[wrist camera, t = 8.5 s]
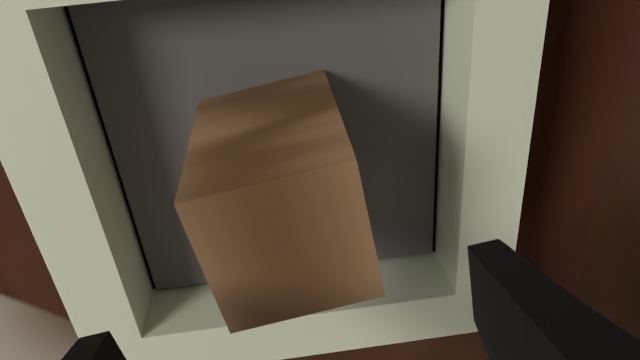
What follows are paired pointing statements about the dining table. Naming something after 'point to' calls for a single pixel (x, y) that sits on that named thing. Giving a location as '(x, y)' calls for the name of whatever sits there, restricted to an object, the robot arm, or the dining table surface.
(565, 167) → the dining table surface
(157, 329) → the board
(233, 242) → the walnut block
